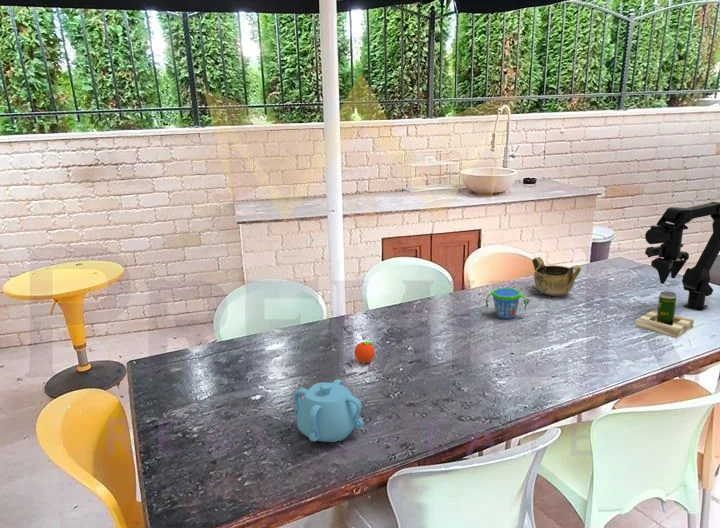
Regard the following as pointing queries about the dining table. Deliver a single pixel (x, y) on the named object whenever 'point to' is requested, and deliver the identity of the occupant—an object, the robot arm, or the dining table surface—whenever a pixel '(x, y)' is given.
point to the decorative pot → (327, 412)
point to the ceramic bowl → (554, 277)
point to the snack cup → (506, 302)
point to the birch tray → (675, 330)
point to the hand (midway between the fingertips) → (667, 280)
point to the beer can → (666, 307)
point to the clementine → (364, 352)
